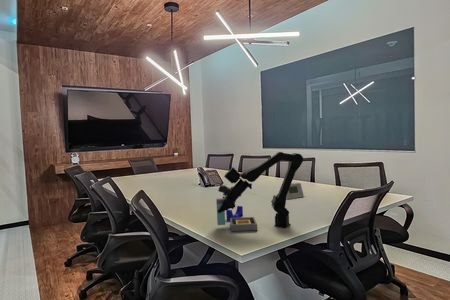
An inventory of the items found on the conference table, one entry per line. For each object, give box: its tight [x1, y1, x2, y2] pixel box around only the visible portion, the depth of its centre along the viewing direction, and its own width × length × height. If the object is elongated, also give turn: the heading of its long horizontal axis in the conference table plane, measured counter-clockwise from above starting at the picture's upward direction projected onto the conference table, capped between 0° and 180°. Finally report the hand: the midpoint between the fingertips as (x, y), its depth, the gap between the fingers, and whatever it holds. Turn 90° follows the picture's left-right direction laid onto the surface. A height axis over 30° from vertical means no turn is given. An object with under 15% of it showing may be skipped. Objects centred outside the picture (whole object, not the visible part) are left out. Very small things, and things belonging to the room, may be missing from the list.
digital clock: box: [286, 182, 305, 200], centre depth 223 cm, size 16×9×11 cm, turn 104°
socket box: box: [229, 216, 258, 233], centre depth 156 cm, size 13×13×4 cm
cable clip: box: [225, 205, 244, 221], centre depth 174 cm, size 12×4×6 cm, turn 142°
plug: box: [216, 197, 226, 226], centre depth 156 cm, size 4×4×13 cm
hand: (218, 211), depth 156 cm, fingers closed on plug, 4 cm apart
